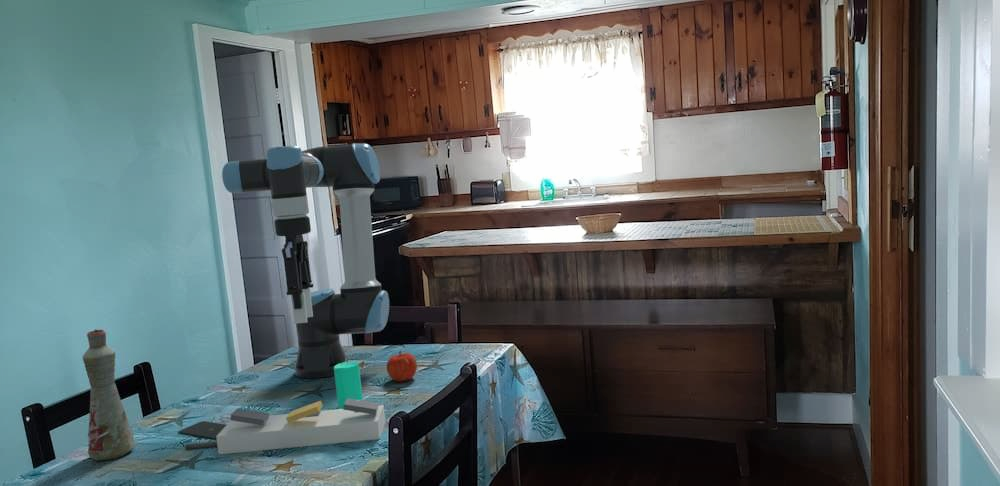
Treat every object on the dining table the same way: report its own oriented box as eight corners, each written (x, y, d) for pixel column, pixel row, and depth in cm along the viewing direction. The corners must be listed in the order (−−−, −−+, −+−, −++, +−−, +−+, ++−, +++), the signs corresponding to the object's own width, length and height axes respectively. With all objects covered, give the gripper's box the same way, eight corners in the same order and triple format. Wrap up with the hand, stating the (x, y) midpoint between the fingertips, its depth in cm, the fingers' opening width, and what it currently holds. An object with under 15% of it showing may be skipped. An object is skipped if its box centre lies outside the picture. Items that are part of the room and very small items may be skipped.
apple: (423, 379, 191) (420, 350, 190) (396, 386, 187) (393, 356, 186) (409, 373, 198) (406, 345, 197) (383, 380, 193) (380, 351, 193)
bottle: (131, 457, 153) (112, 330, 150) (84, 466, 151) (63, 337, 147) (139, 443, 161) (121, 322, 158) (95, 451, 159) (75, 328, 156)
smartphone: (202, 419, 172) (246, 426, 165) (202, 423, 172) (246, 430, 165) (175, 431, 166) (219, 438, 159) (176, 434, 166) (220, 442, 159)
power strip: (194, 440, 160) (191, 422, 160) (385, 421, 162) (383, 404, 161) (175, 458, 150) (172, 439, 150) (379, 439, 152) (377, 420, 151)
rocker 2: (292, 416, 157) (290, 411, 156) (322, 405, 157) (320, 400, 156) (288, 423, 153) (286, 418, 152) (318, 411, 153) (316, 406, 152)
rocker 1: (236, 413, 156) (237, 408, 156) (268, 418, 156) (269, 413, 156) (230, 420, 152) (231, 414, 152) (263, 425, 152) (264, 420, 152)
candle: (357, 410, 171) (352, 362, 169) (334, 411, 172) (328, 362, 171) (367, 402, 177) (361, 354, 175) (344, 402, 178) (339, 355, 176)
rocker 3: (346, 403, 157) (347, 398, 157) (378, 408, 157) (378, 403, 157) (343, 409, 153) (344, 404, 153) (375, 414, 153) (376, 409, 153)
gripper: (285, 215, 166) (296, 312, 169) (262, 221, 148) (276, 330, 151) (317, 212, 166) (328, 310, 169) (298, 218, 149) (311, 327, 151)
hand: (303, 319), depth 160 cm, fingers open, 5 cm apart
